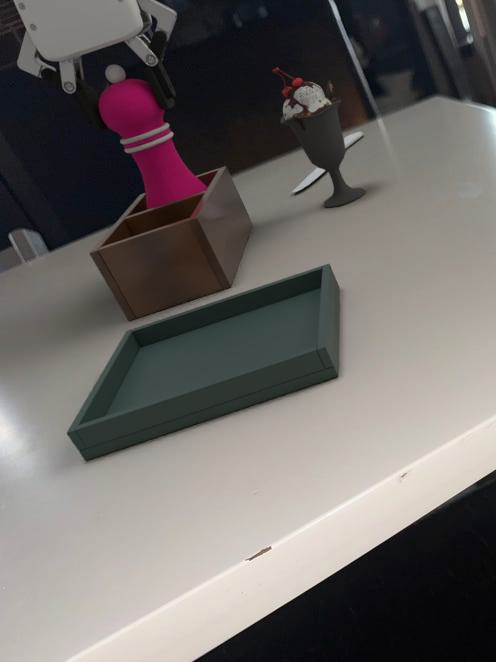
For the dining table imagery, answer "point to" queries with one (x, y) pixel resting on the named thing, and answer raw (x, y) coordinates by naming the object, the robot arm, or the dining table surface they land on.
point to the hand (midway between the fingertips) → (136, 116)
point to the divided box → (175, 247)
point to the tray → (213, 362)
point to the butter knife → (318, 171)
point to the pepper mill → (146, 138)
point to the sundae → (319, 132)
